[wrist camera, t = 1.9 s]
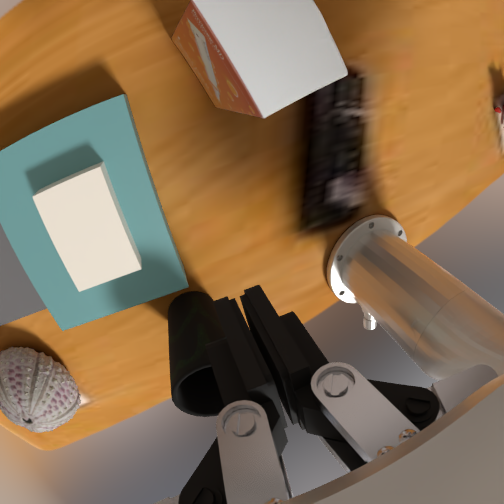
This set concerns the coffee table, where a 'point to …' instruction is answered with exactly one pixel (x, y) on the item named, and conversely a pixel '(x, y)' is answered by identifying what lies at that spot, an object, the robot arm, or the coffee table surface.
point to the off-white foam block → (88, 227)
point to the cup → (193, 354)
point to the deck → (129, 197)
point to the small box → (258, 52)
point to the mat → (15, 286)
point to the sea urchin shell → (36, 390)
